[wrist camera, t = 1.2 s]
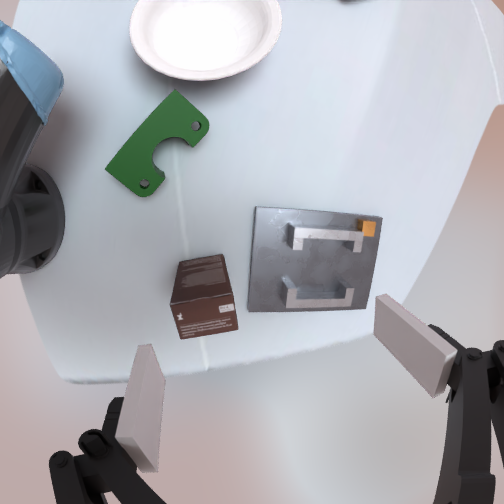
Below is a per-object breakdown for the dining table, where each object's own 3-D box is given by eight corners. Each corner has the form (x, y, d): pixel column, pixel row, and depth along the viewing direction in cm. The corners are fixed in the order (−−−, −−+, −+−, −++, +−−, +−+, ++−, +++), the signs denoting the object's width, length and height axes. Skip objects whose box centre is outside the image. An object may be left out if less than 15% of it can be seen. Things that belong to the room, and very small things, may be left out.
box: (186, 292, 39) (178, 341, 27) (178, 260, 37) (167, 300, 26) (230, 285, 39) (240, 331, 28) (224, 252, 38) (232, 289, 26)
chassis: (247, 308, 40) (251, 320, 37) (255, 206, 37) (260, 210, 34) (362, 306, 43) (373, 316, 40) (378, 216, 40) (392, 221, 36)
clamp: (156, 174, 38) (136, 211, 31) (124, 147, 35) (96, 179, 28) (218, 114, 33) (210, 138, 26) (183, 82, 30) (164, 97, 23)
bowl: (285, 77, 33) (306, 55, 25) (166, 119, 32) (154, 105, 24) (241, -12, 28) (249, -46, 20) (130, 24, 28) (114, -5, 19)
